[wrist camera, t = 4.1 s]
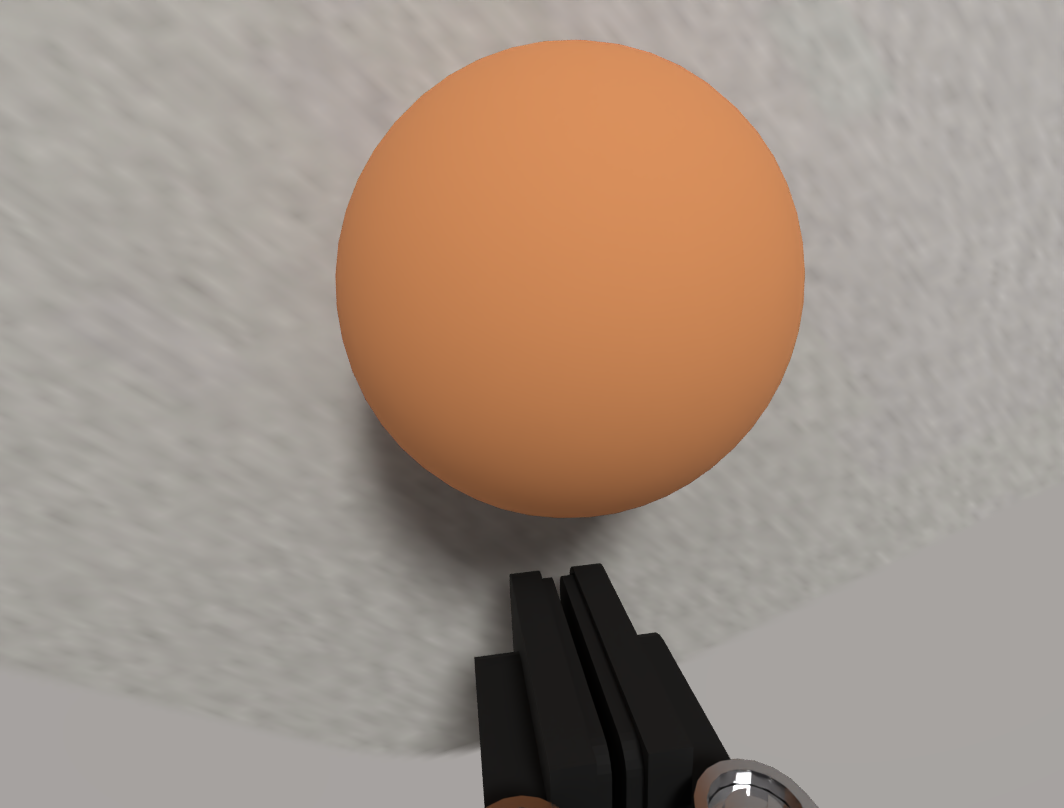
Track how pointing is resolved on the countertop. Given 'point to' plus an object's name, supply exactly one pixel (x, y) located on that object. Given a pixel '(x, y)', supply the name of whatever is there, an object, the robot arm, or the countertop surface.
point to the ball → (570, 278)
